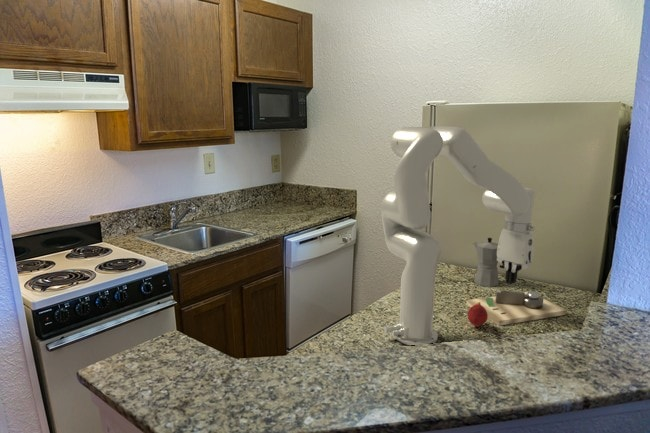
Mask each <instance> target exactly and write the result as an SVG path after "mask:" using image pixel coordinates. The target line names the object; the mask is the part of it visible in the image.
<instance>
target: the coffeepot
mask: <svg viewBox="0 0 650 433" xmlns="http://www.w3.org/2000/svg"><path fill="white" fill-rule="evenodd" d="M492 240H493V238H492V237H487V241H484V242H483V241H477V242H472V245H474V247H475V249H476V252H477V262H478V266H477V270H476V273H475V277H474V280H473V281H474V283H475V284H476V285H478V286H481V287H486V288H487V287H488V288H494V287H497V286H498V285H499V283H500V282H499V270H498V263H499V262H498V261H497V247H498V243H496V242H492ZM499 268H500V269H505V267H504V266H503V264H502V265H499Z"/></svg>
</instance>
